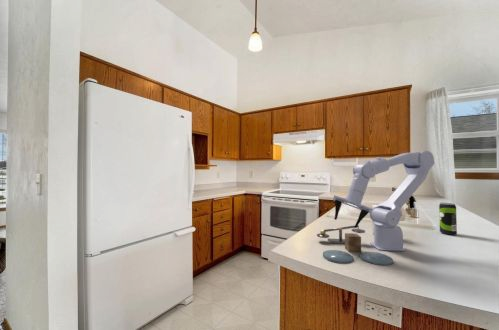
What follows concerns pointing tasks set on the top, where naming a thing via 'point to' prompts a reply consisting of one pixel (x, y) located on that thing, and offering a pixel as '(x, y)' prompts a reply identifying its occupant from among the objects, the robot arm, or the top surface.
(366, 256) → the dish
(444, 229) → the beverage can
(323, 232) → the balance
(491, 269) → the top surface
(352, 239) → the walnut block
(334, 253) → the dish
